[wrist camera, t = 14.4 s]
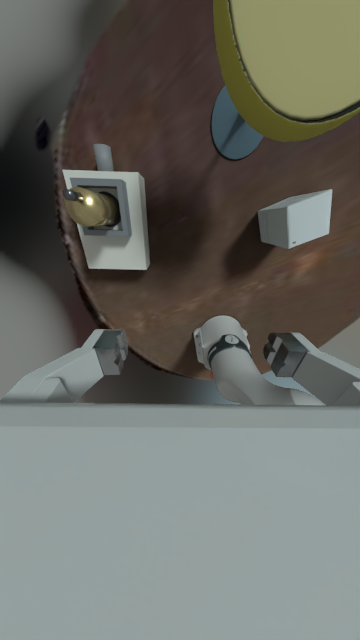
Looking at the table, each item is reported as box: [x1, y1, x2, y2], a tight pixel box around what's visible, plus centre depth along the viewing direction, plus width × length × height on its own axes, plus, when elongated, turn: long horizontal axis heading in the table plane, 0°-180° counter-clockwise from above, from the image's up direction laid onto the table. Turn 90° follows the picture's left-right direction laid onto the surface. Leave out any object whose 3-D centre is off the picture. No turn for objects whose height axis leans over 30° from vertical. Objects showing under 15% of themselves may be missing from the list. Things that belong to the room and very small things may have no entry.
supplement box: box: [258, 189, 332, 249], centre depth 34 cm, size 7×7×13 cm
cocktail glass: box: [211, 0, 360, 159], centre depth 20 cm, size 18×18×25 cm
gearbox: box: [63, 144, 150, 270], centre depth 35 cm, size 22×14×9 cm, turn 179°
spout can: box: [63, 187, 119, 227], centre depth 28 cm, size 5×5×13 cm
